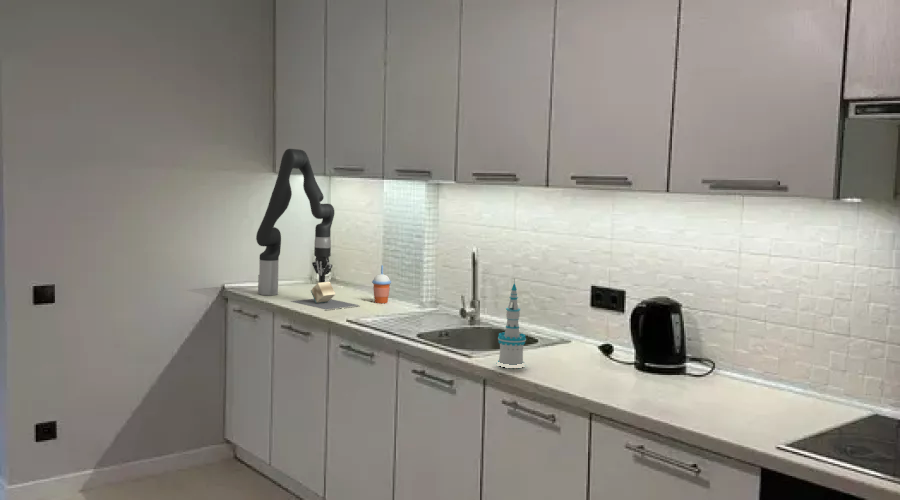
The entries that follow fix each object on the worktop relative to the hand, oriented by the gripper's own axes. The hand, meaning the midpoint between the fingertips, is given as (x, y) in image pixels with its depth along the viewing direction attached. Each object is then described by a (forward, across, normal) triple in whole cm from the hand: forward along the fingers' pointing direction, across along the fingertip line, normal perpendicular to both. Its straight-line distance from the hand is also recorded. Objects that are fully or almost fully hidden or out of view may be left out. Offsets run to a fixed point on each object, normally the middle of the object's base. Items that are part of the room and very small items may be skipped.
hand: (321, 283), depth 404 cm
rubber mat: (+10, +2, 0) cm, 10 cm away
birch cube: (+6, -2, 0) cm, 7 cm away
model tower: (+11, +136, -25) cm, 138 cm away
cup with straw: (+10, +13, +26) cm, 31 cm away
